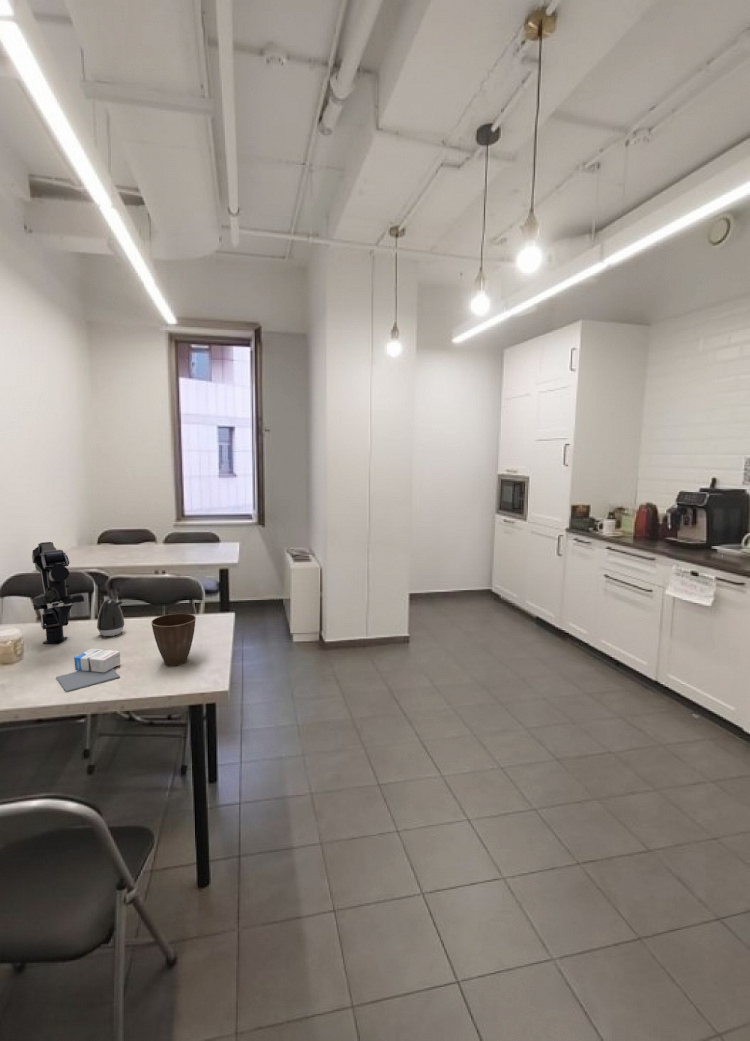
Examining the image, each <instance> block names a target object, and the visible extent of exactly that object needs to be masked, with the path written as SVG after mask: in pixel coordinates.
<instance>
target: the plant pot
mask: <svg viewBox="0 0 750 1041" xmlns="http://www.w3.org/2000/svg"><path fill="white" fill-rule="evenodd" d="M196 619H197V617H196V615H194V614H190V613H169V614H164V615H161V616H159V617H155V618H154V619H152V620H151V626H152V632H153V635H154V640H155V642H156V646H157V649H158V652H159V654H160V657H161V658H162V660H163V662H164V664H165V665H166V666H169V667H170V666H171V667H173V666H180V665H183V664H184V663H186V662H187V661H188V659H189V655H190V653H191V652H190V651H191V648H192V644H193V640H194V634H195V627H196Z"/></svg>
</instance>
